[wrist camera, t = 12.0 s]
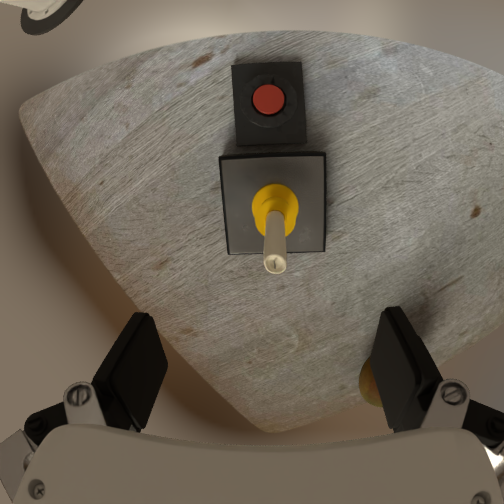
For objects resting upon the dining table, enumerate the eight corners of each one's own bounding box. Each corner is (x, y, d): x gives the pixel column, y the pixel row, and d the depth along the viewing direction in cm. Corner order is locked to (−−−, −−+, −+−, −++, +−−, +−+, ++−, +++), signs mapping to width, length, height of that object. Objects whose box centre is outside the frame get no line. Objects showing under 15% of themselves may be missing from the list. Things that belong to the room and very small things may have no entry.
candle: (261, 234, 33) (251, 312, 19) (245, 193, 31) (219, 244, 17) (304, 220, 32) (326, 290, 18) (289, 177, 30) (303, 215, 16)
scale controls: (232, 67, 28) (228, 61, 26) (300, 64, 28) (302, 57, 25) (238, 145, 32) (234, 146, 29) (305, 143, 31) (308, 143, 29)
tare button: (253, 87, 27) (251, 85, 25) (282, 86, 27) (283, 83, 25) (254, 115, 28) (253, 114, 27) (284, 114, 28) (285, 112, 26)
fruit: (407, 321, 40) (430, 362, 31) (418, 364, 44) (435, 402, 35) (344, 351, 43) (356, 397, 34) (363, 389, 47) (373, 430, 38)
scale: (222, 155, 33) (217, 157, 30) (322, 151, 32) (327, 152, 29) (230, 247, 37) (226, 257, 35) (322, 244, 36) (326, 254, 34)
